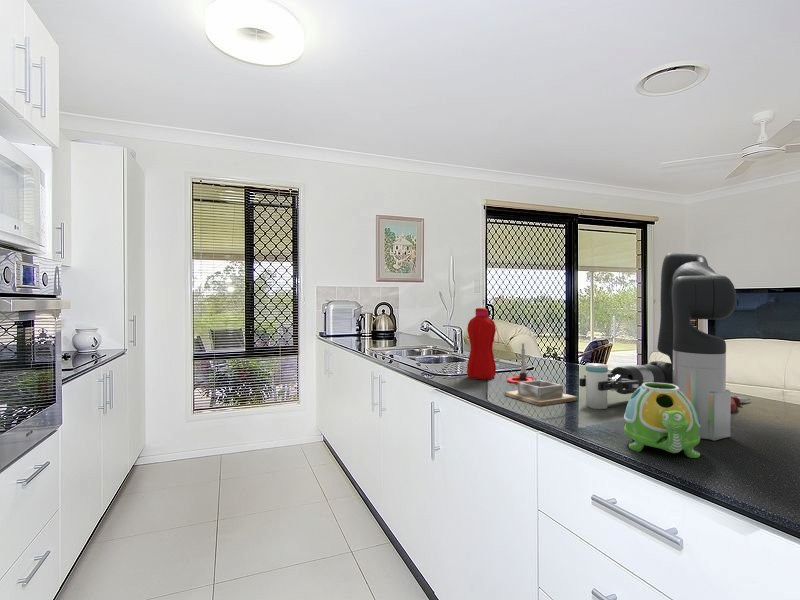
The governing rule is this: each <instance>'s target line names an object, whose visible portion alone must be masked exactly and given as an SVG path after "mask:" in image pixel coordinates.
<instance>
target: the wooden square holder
mask: <svg viewBox="0 0 800 600" xmlns="http://www.w3.org/2000/svg"><path fill="white" fill-rule="evenodd" d="M525 381H526V380H525ZM563 388H564V387H563V384H558V383H555V382H550V381H547V380H542V379H538V380H533V381H526V382H518V384H517V389H516V390H508V391H504V393H503V394H504V396H506V397H509V398H513V399H516V400H519V401H523V402H525V403H528V404H529V403H530V404H533V405H536V406H538V407H542V406H549V405H554V404H561V403H562V404H563V403H567V402H576V401H578V396H575V395H571V394H567V393H564V392H563Z"/></svg>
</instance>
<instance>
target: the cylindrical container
mask: <svg viewBox="0 0 800 600" xmlns="http://www.w3.org/2000/svg"><path fill="white" fill-rule="evenodd" d="M608 371H609V368H608V364H604V363H595V362H591V363H590V362H588V363H585V375H586V386H585V407H586V408H590V409H595V410H604V409H605V410H606V409H608V390H605V391H599V390H598V383H599V382H602V381H608V373H609V372H608Z"/></svg>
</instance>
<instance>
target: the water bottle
mask: <svg viewBox="0 0 800 600" xmlns="http://www.w3.org/2000/svg"><path fill="white" fill-rule="evenodd" d="M489 315H490V313H489V310H488V309H487V308H485V307H477V308H475V316H474V317H472V318H471V319H469V321H468V324H467V335H468V339H469V343H470V352H469V356H468V359H467V365H466V367H467V368H466V376H467V377H468V378H469V379H475V380H483V381H486V380H490V379H492V378H494V377H495V376H496V373H497V370H496V369H497V366H496V365H497V364H496V359H495V356H494V351H493V345H496V346H499V344H500V343H499V342H500V339H499V337H500V336H497V340H498V341H497V344H495V337H496V336H495V335H496V334H497V335H499V333H498V329H497V325H496V323H495V320H493V319H492V318H491V317H489Z"/></svg>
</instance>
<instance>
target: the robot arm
mask: <svg viewBox="0 0 800 600" xmlns="http://www.w3.org/2000/svg"><path fill="white" fill-rule="evenodd" d="M708 263H709V262H708V260H707V258H706V257H705V256H703V255H702V254H695V253H683V252H682V253H676V252H669V253H667V254H666V255H665V256H664V259H663V261H662V265H661V272H660V323H659V324H660V325H659V331H658V338H657V351H658V352H659V353H661V354H663V355H666V356H668V357H669V360H670V362H671V363H670V362H667V361H666V362H665V361H663V360H652V361H650V362H647V363H646V364H642V365H638V364H632V365H631V364H630V365H621V366H616V367H615V368H613V369H612V370H611V371H610V372H608V381H602V382H599V383H598V390H599V391H605V390H607V391H612V392H614V391H615V392H616V393H618V394H621V395H630V394H633V393H634V392H635V391H636V390H637V389H638V388H639V387H640V386H641V385H642V384H643V383H646V382H655V383H667V384H673V385H676V386H678V387H679V389H680V391H681V392H682V393H683V394H684V395H685V396H686V397H687V398H688V399H689V400H690V402H691V403H692V404H693V406H694V409H695V411H696V413H697V416H698V421H699V424H700V428H699V436H700V439H705V440H709V441H710V440H711V441H717V440H721V439H726V438H729V437H731V414H732V412H731V396H732V394H731V390H730V389H726V388H727V387H726V386H727V383H726V382H727V379H726V378H727V374H726V373H727V370H726V369H727V343H726V340H725V339H723V338H721V337H719V336H715V335H712V334H709V333H706V332H704V331H702V330H700V329H698V328H696V327H695V326H693V324H692V322H691V320H712V321H713V320H722V319H726V318H729V317H730V316H731V315H732V313H734V311H735V308H736V305H737V298H738V297H737V292H736V288H735V285H734V284H733V282H732V281H731V279H730V278H729V277H727V276H726V275H722V274H718V273H717V272H716V271H715V270H714V269H713V268H711V266H709V264H708ZM578 386H580V387H582V388H586V374H584V375H583V377H581V378H579V385H578Z"/></svg>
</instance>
